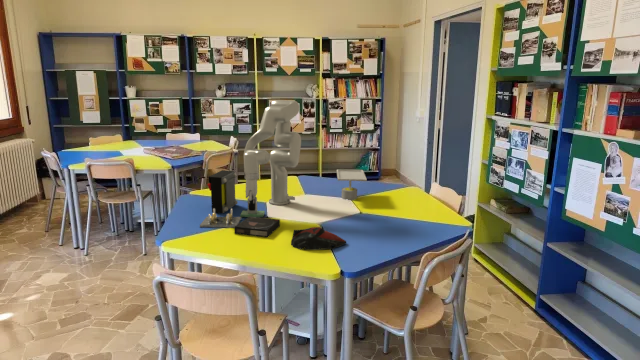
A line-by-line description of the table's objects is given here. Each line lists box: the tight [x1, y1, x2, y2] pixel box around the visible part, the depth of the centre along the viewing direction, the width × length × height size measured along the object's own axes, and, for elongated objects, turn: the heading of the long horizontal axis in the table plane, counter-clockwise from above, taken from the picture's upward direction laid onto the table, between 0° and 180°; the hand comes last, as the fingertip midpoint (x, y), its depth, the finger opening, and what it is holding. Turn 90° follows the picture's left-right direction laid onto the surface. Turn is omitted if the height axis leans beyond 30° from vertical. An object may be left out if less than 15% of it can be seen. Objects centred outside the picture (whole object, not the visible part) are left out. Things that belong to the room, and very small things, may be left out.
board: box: [239, 196, 266, 218], centre depth 231 cm, size 12×7×9 cm, turn 90°
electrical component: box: [207, 169, 238, 214], centre depth 242 cm, size 18×10×20 cm, turn 168°
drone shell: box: [290, 226, 347, 251], centre depth 192 cm, size 21×20×8 cm
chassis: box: [199, 208, 242, 229], centre depth 219 cm, size 18×14×6 cm
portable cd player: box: [233, 216, 281, 238], centre depth 210 cm, size 16×17×4 cm
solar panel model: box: [336, 169, 368, 201], centre depth 269 cm, size 28×17×15 cm, turn 179°
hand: (252, 208), depth 231 cm, fingers closed on board, 3 cm apart
